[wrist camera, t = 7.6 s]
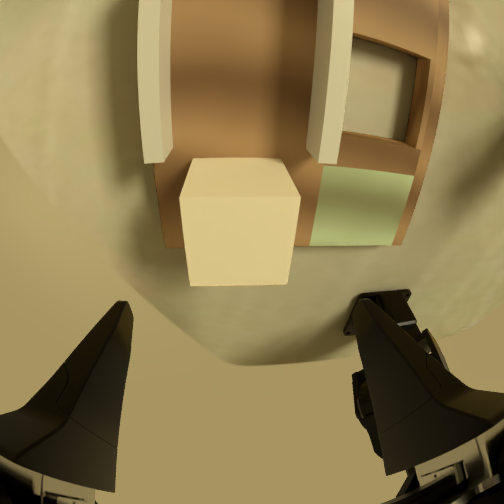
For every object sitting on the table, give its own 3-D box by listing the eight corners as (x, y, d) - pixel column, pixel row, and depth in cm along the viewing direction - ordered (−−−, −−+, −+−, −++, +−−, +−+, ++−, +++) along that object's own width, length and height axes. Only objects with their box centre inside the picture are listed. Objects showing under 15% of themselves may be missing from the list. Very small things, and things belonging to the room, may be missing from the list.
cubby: (322, 149, 15) (336, 164, 13) (156, 148, 14) (144, 163, 12) (336, -41, 7) (354, -54, 5) (158, -48, 7) (147, -64, 5)
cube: (274, 230, 18) (287, 284, 14) (197, 231, 18) (190, 286, 14) (280, 158, 15) (300, 197, 11) (192, 158, 15) (179, 197, 11)
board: (393, 234, 21) (401, 245, 20) (168, 235, 20) (165, 247, 18) (435, 2, 9) (448, 1, 8) (160, -45, 7) (154, -53, 6)
